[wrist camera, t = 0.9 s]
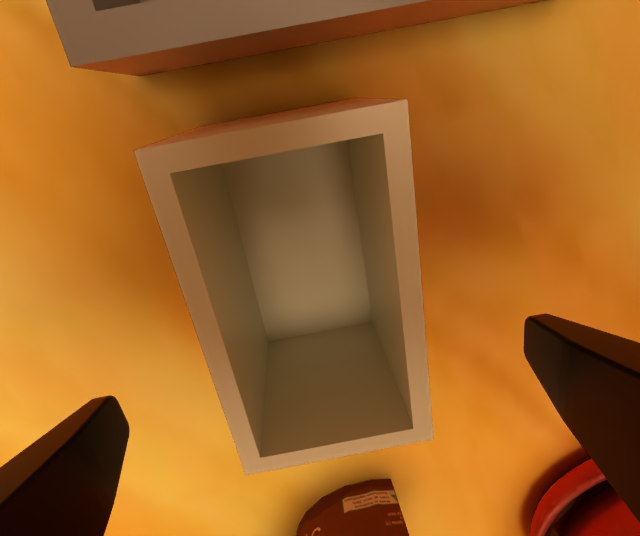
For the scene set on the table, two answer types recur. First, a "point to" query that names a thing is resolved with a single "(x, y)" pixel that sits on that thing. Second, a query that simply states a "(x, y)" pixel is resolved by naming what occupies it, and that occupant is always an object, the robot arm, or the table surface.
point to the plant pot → (583, 507)
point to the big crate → (228, 27)
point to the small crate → (301, 276)
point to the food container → (356, 512)
